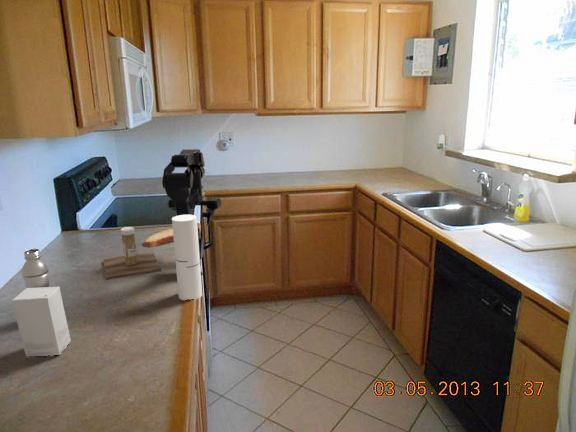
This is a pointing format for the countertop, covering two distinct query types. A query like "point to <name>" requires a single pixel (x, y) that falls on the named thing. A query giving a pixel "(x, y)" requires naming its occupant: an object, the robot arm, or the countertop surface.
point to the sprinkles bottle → (129, 246)
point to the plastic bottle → (35, 270)
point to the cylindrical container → (187, 256)
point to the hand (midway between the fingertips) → (196, 225)
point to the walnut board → (119, 269)
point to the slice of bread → (160, 238)
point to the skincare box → (41, 321)
